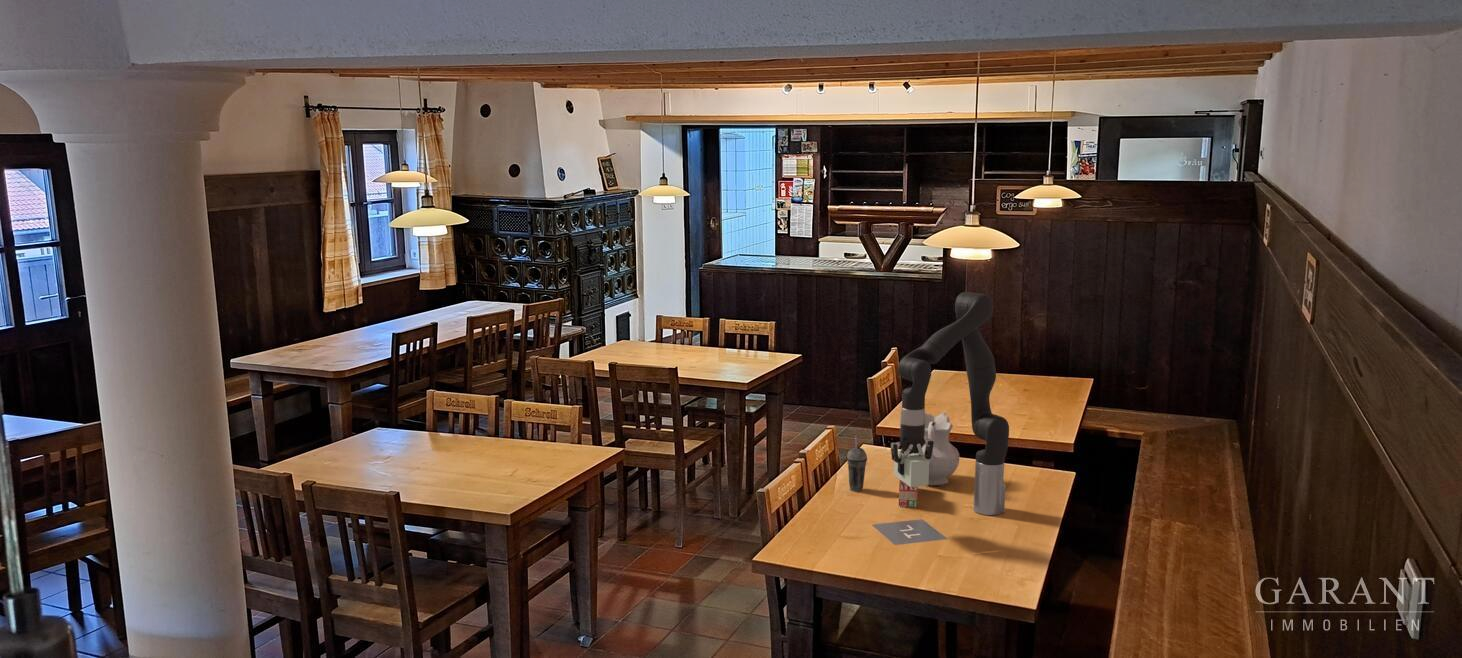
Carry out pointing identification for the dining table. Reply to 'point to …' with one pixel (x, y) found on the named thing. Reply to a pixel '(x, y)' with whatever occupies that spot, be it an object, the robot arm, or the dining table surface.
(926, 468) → the sage block
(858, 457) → the beverage cup
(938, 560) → the dining table surface
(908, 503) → the stack of blocks
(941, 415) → the ceramic pitcher
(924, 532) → the gray tile
